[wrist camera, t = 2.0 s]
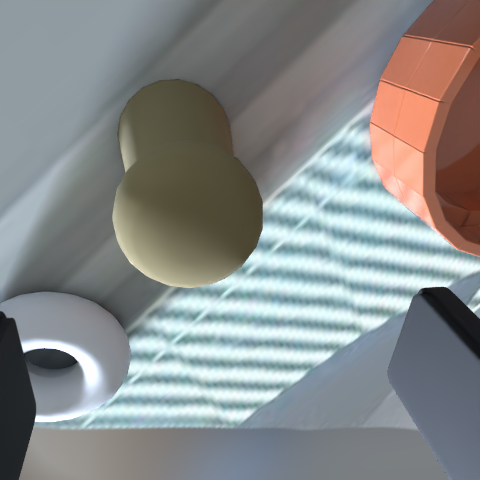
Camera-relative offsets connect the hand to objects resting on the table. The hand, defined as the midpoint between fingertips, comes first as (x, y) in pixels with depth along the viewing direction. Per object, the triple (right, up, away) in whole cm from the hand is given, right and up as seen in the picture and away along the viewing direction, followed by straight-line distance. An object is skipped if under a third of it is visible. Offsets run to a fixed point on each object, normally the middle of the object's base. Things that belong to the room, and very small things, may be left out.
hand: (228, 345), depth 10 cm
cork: (-3, +8, +13) cm, 15 cm away
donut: (-12, -4, +18) cm, 22 cm away
